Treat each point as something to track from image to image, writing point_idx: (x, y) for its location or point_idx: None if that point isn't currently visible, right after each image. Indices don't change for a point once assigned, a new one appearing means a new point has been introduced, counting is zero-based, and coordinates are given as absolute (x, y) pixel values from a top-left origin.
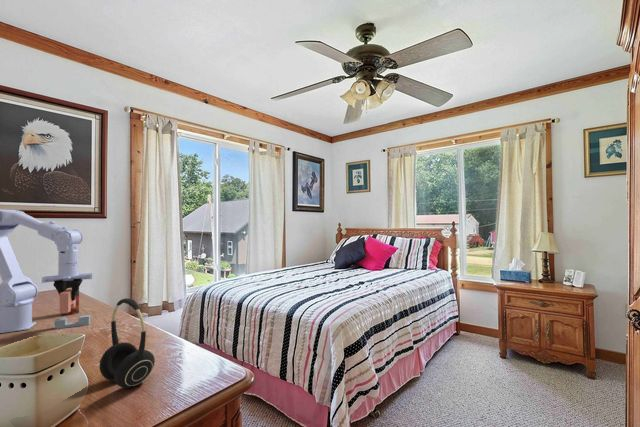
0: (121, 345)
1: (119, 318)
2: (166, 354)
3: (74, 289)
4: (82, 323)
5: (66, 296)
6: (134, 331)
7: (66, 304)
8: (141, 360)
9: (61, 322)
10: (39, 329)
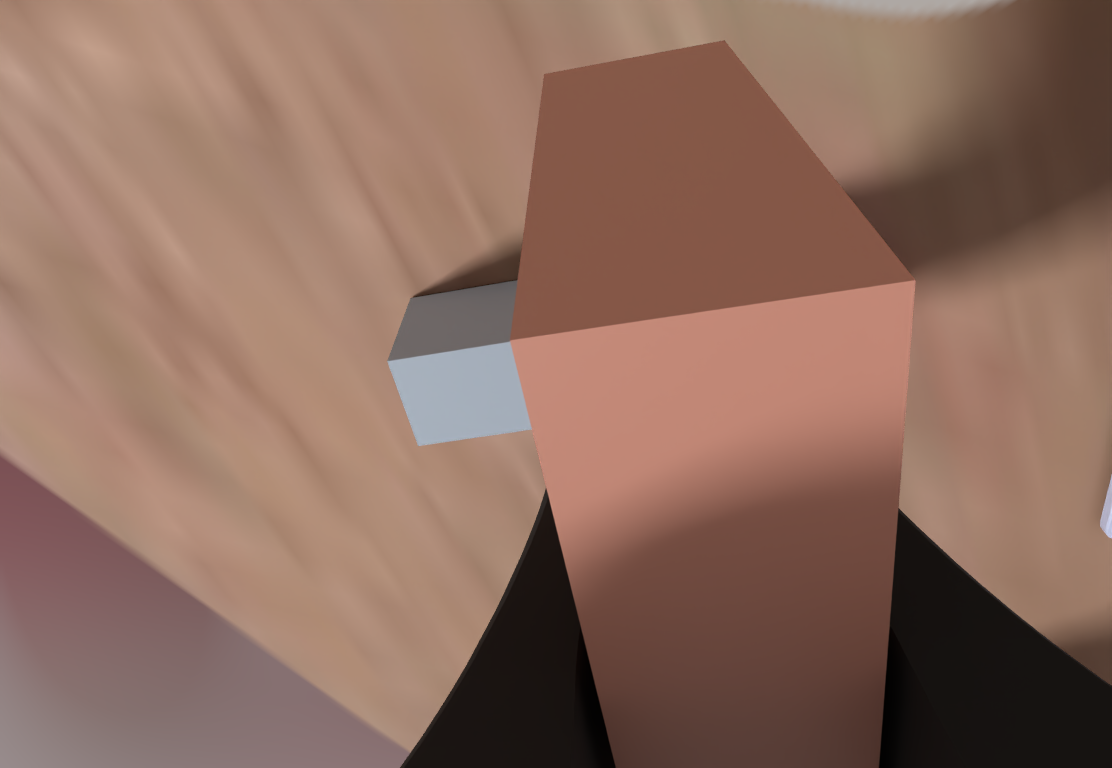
0: None
1: (131, 448)
2: None
3: (478, 741)
4: (480, 298)
5: (592, 244)
6: None
7: (587, 138)
8: None
9: None
10: (1016, 280)
